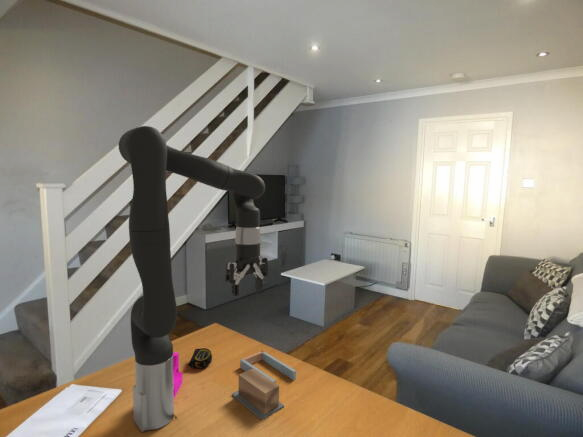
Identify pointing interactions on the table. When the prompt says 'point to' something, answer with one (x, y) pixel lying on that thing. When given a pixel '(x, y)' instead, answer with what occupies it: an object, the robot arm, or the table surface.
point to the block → (259, 391)
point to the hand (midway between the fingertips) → (247, 293)
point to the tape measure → (201, 358)
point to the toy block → (176, 374)
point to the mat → (253, 408)
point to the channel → (248, 361)
